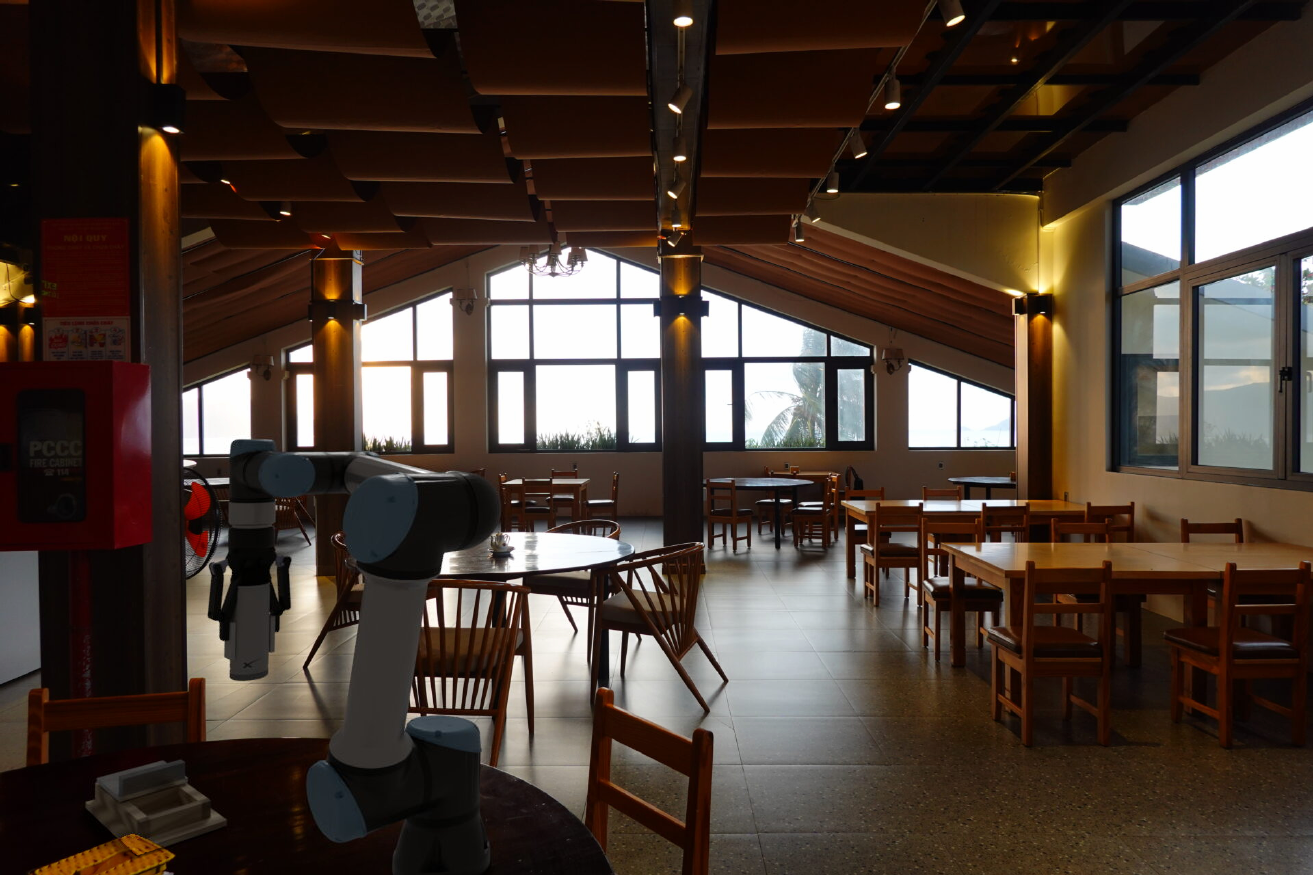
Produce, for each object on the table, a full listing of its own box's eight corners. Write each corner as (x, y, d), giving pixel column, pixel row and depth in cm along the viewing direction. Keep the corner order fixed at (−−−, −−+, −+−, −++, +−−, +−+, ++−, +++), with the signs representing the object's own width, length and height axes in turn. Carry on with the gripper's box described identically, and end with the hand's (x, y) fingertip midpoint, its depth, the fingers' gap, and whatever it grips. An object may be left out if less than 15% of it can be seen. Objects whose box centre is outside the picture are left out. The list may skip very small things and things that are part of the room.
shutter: (187, 781, 151) (188, 761, 151) (119, 801, 142) (119, 780, 142) (163, 764, 158) (163, 744, 158) (96, 782, 150) (97, 761, 150)
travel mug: (253, 682, 143) (255, 568, 143) (221, 679, 144) (223, 566, 144) (277, 672, 149) (279, 562, 149) (246, 669, 150) (248, 560, 150)
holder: (226, 825, 143) (227, 802, 143) (136, 856, 133) (136, 831, 133) (169, 783, 160) (170, 762, 160) (85, 807, 149) (85, 785, 149)
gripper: (295, 519, 156) (293, 641, 156) (185, 527, 141) (183, 660, 142) (314, 523, 151) (311, 648, 151) (202, 531, 137) (200, 669, 137)
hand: (249, 654), depth 146 cm, fingers closed on travel mug, 6 cm apart
